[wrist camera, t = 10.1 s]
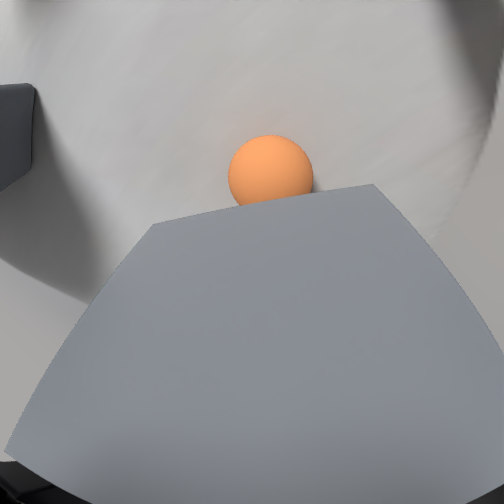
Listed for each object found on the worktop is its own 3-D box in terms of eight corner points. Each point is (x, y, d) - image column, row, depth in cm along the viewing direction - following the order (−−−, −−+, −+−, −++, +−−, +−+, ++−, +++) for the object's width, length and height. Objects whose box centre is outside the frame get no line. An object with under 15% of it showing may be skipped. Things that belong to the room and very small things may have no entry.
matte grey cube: (373, 183, 9) (545, 455, 1) (372, 344, 12) (405, 524, 5) (153, 224, 10) (4, 451, 2) (215, 362, 14) (181, 531, 6)
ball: (328, 223, 16) (314, 175, 19) (305, 148, 13) (293, 112, 16) (246, 244, 17) (248, 195, 21) (208, 180, 14) (218, 138, 17)
